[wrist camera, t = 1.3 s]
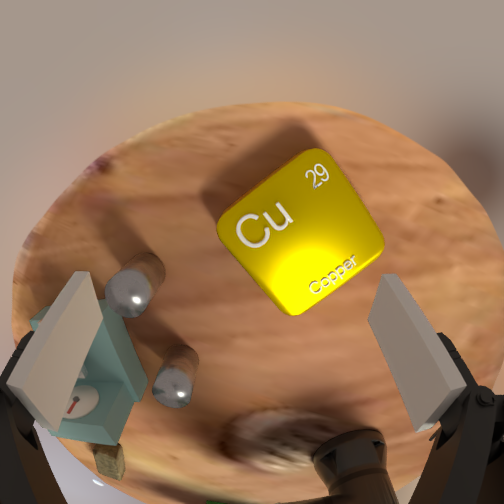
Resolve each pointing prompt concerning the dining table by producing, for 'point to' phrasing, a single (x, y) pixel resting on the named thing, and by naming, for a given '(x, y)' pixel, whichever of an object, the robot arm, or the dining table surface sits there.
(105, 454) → the stone block
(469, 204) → the dining table surface
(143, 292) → the cylinder
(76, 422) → the scale body
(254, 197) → the element tile
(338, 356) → the dining table surface
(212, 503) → the hardback book
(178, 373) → the cylinder
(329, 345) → the dining table surface
